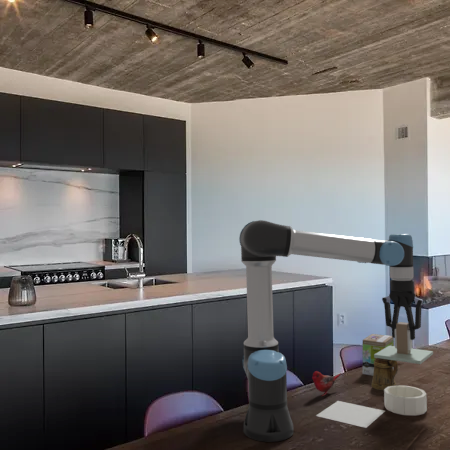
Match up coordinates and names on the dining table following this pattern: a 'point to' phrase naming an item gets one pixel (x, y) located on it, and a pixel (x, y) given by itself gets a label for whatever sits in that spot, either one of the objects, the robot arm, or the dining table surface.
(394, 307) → the robot arm
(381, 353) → the lid
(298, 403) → the dining table surface
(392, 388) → the bowl
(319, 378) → the decorative bird figurine
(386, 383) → the wooden mug
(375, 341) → the tea box
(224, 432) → the dining table surface
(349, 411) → the mat
